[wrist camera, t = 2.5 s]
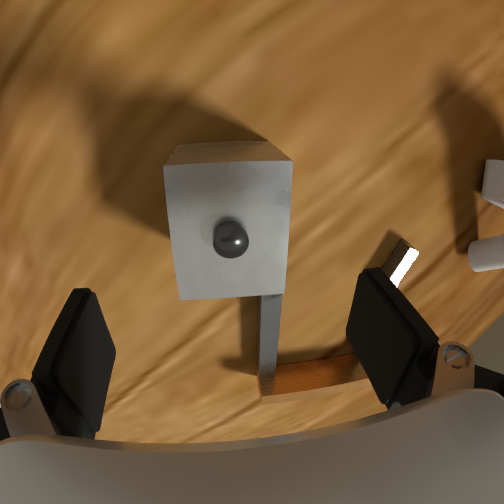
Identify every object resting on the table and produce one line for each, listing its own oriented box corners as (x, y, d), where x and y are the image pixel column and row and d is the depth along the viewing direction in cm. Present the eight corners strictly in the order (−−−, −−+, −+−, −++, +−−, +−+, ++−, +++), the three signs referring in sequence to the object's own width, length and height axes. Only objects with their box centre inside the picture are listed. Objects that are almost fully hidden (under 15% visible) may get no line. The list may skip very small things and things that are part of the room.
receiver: (241, 247, 21) (246, 275, 18) (411, 238, 22) (434, 259, 19) (243, 377, 28) (248, 406, 25) (371, 358, 30) (383, 382, 27)
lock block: (178, 143, 17) (160, 169, 11) (268, 140, 18) (296, 164, 12) (186, 245, 21) (179, 307, 15) (266, 241, 21) (286, 300, 15)
